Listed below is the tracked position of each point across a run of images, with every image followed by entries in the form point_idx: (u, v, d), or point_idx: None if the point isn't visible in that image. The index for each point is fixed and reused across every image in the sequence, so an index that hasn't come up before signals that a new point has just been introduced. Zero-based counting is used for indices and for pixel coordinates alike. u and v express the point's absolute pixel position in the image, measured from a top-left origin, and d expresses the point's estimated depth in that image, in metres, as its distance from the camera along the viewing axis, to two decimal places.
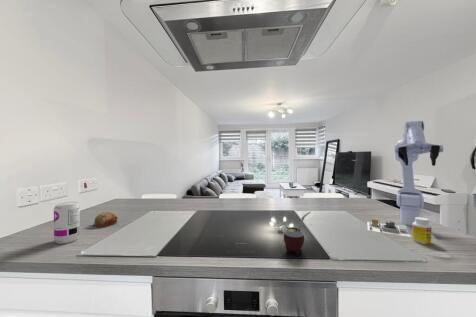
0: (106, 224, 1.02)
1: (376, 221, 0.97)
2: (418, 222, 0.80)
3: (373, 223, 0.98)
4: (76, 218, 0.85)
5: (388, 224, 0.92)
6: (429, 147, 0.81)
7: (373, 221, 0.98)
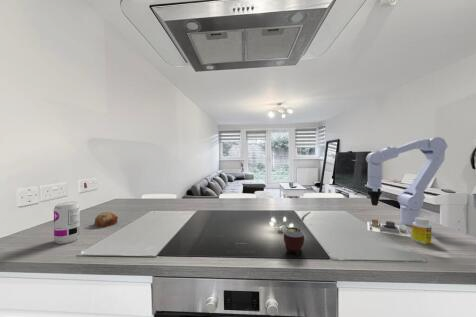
0: (106, 224, 1.02)
1: (376, 221, 0.97)
2: (418, 222, 0.80)
3: (373, 223, 0.98)
4: (76, 218, 0.85)
5: (388, 224, 0.92)
6: None
7: (373, 221, 0.98)
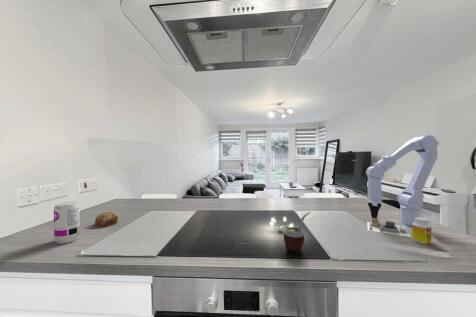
0: (107, 224, 1.03)
1: (376, 221, 0.97)
2: (418, 222, 0.80)
3: (373, 223, 0.98)
4: (76, 218, 0.85)
5: (388, 224, 0.92)
6: None
7: (373, 221, 0.98)
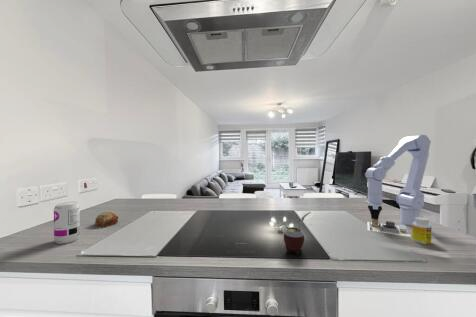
0: (107, 224, 1.03)
1: (376, 222, 0.96)
2: (418, 222, 0.80)
3: (373, 224, 0.97)
4: (76, 218, 0.85)
5: (388, 224, 0.92)
6: None
7: (373, 222, 0.97)
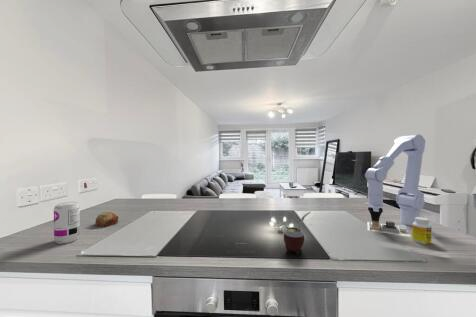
0: (107, 224, 1.03)
1: (377, 224, 0.93)
2: (418, 222, 0.80)
3: (373, 226, 0.93)
4: (76, 218, 0.85)
5: (388, 224, 0.92)
6: None
7: (373, 224, 0.93)
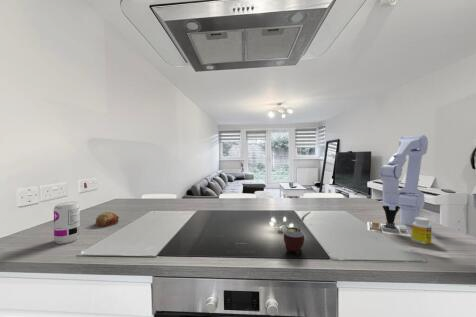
0: (107, 224, 1.03)
1: (377, 224, 0.93)
2: (418, 222, 0.80)
3: (373, 226, 0.93)
4: (76, 218, 0.85)
5: (388, 225, 0.92)
6: None
7: (373, 224, 0.93)
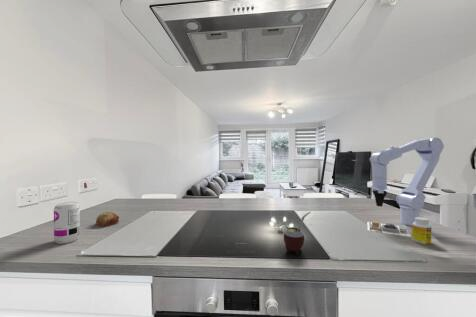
0: (108, 224, 1.03)
1: (377, 224, 0.93)
2: (418, 222, 0.80)
3: (373, 226, 0.93)
4: (76, 218, 0.85)
5: (388, 227, 0.92)
6: (378, 189, 0.98)
7: (373, 224, 0.93)
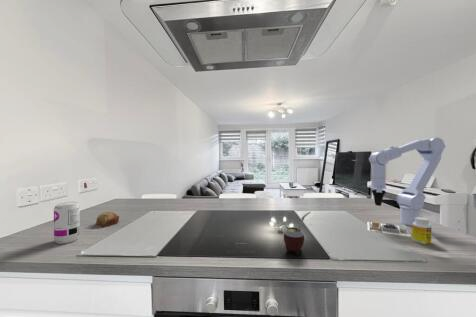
0: (108, 223, 1.03)
1: (377, 224, 0.93)
2: (418, 222, 0.80)
3: (373, 226, 0.93)
4: (76, 218, 0.85)
5: (388, 227, 0.92)
6: None
7: (373, 224, 0.93)
